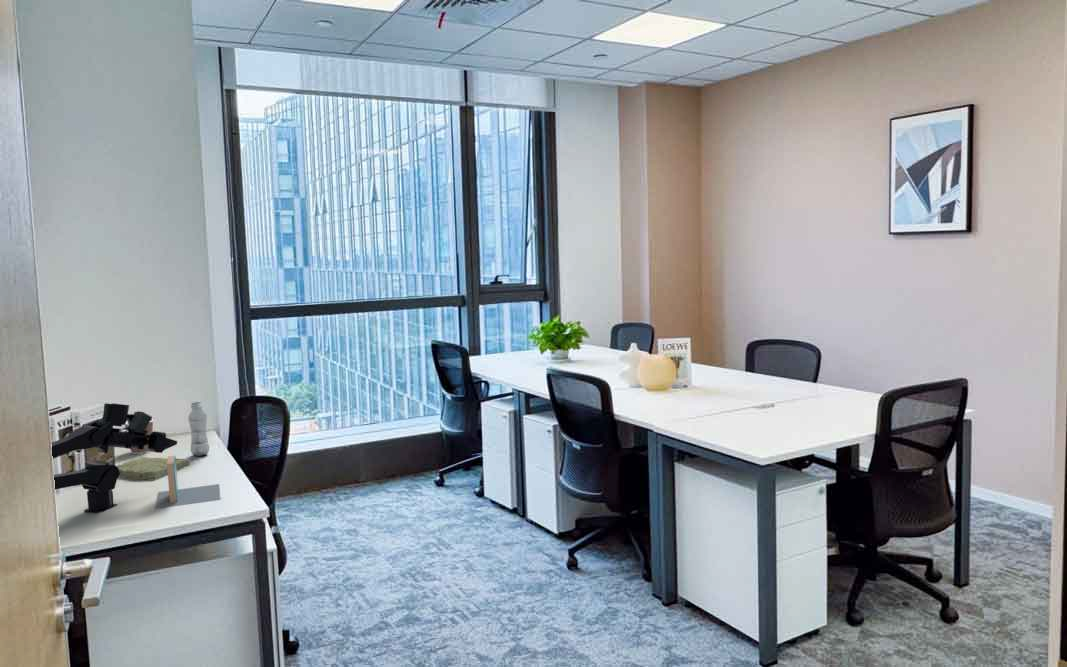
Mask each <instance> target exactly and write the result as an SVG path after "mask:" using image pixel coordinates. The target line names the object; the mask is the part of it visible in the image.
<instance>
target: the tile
mask: <svg viewBox="0 0 1067 667" xmlns="http://www.w3.org/2000/svg"><path fill="white" fill-rule="evenodd" d="M167 458H168V461H167V472H168V475H167V482H168V491H169V495H170V503H173V502H177V501H178V489H179V482H178V471H177V469H176V459H177V458H176V455H170V456H168V457H167Z"/></svg>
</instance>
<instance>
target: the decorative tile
mask: <svg viewBox="0 0 1067 667" xmlns="http://www.w3.org/2000/svg"><path fill="white" fill-rule="evenodd" d="M167 461H168V457H147V456H146V457H145V456H142V457H140V458H135V459H131V460H128V461H125V462H123V463H121V464H118V465H116V466H117V467H118V469H119V477H124V478H123V479H129V478H131V479H130V480H138V479H151V480H150V481H153V480H152V479H157V480H160V479H162V478H164V477H166V475H167V476H168V472H167ZM186 466H187V467H189V466H190V459H188V458H176V469H177V472H178V471H180V469H181V470H183V469H185V468H187V467H186ZM184 467H185V468H184ZM182 468H183V469H182ZM159 478H160V479H159Z"/></svg>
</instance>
